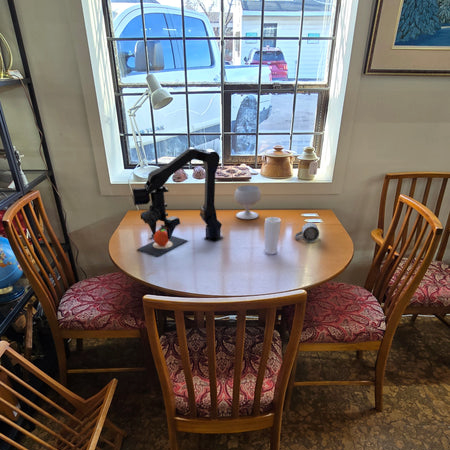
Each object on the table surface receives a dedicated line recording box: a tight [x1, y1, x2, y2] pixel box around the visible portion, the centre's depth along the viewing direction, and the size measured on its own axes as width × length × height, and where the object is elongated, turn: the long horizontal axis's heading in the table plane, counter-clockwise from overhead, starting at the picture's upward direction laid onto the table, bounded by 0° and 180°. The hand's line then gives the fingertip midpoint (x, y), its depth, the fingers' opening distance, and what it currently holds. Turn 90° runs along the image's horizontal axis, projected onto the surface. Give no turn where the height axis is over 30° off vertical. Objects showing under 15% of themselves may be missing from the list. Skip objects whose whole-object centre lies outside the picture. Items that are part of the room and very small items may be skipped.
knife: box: [150, 224, 167, 240], centre depth 184 cm, size 25×6×1 cm, turn 154°
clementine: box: [153, 229, 169, 245], centre depth 167 cm, size 8×7×7 cm
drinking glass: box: [263, 216, 282, 255], centre depth 159 cm, size 7×7×15 cm
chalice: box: [234, 185, 262, 220], centre depth 197 cm, size 14×14×15 cm
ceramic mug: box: [294, 222, 320, 243], centre depth 173 cm, size 11×8×8 cm
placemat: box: [137, 235, 188, 258], centre depth 169 cm, size 12×20×1 cm, turn 145°
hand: (161, 236), depth 166 cm, fingers open, 9 cm apart
